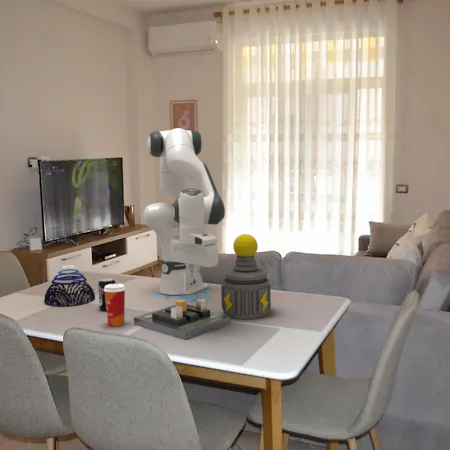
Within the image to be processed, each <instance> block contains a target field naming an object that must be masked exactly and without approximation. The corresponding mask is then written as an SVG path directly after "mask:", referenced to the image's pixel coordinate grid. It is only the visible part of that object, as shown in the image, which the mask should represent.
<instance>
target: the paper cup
mask: <svg viewBox="0 0 450 450" xmlns="http://www.w3.org/2000/svg"><path fill="white" fill-rule="evenodd" d="M104 291H105V301H106V310H107V311H106V319H107V325H108V326H109V327H113V328H114V327H120V326H123V325H124V324H125V298H126V287H125V285H124V284H123V283H116V284H109V285H106V286H105V288H104Z"/></svg>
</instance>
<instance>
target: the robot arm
mask: <svg viewBox="0 0 450 450" xmlns="http://www.w3.org/2000/svg"><path fill="white" fill-rule="evenodd" d="M146 145H147V150H148V152H149V155H151V156H152V157H155V158H160V160H159V188H160V190H161V191H162V192H163V193H164V194H166V195H168V196H170V197H173V198H174V201H173V202H171V201H169V202H156V203H152V204H148V205H146V206H145V208H144V210H143V213H142V219H143V223H145V225H146V227H148V228H149V229H151V230H152V231H153V232H154V233H155V234H156V236H157V237H158V240H159V242H160V249H161V251H160V252H161V260H160V268H161V269H160V270H161V275H160V277H161V278H160V284H159V285H160V286H159V289H158V292H159V293H160V294H163V295H168V296H169V295H172V296H173V295H175V296H176V295H177V296H178V295H192V294H195V293H197V292H200V291H203V290H204V289H206V288H209V287H208V284H206V283H205V282H204V283H203V277H202V275H201V273H200V271H201V270H200V269H201V268H202V267H206V268H214V267H217V265H218V264H219V250H218V246H217V242H218V238H217V236H215V235H214V234H211V233H209V232H208V231H207V230H206V225H218V224H219V223H220V222H222V221H223V219H224V218H225V215H226V208H225V204H224V201H223V199H222V198H221V196H220V195H219V192H218V189H217V187H216V185H215V182H214V180H213V177H212V174H211V172H210V170H209V168H208V166H207V164H206V163H205V162H203V161H201V160H200V159H199V158H198V157H197V156H198V155H199V154H200V153H201V152H202V150H203V149H202V148H203V137H202V135H201V133H200V132H199V131H198V130H195V129H190V130H188V129H184V128H181V127H180V128H179V127H177V128H172V129H167V130H154V131H152V132H151V133H150V134H149V135H148V139H147V143H146ZM187 179H188V180H191V181H194V182H195V183H196V182H197V183H198V184H199V185H200V186H201V188H202V190H201V189H199V188H197V189H196V188H188V185H187ZM174 228H175V229H176V228H177V229H178V228H179V229H178V230H179V235H178V234H176V233H174V232H173V229H174Z"/></svg>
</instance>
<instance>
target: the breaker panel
mask: <svg viewBox="0 0 450 450" xmlns="http://www.w3.org/2000/svg"><path fill="white" fill-rule="evenodd" d="M207 303H208V302H207V299H204V298H199V299H197V300H195V305H191V304H188V303H187V311H183V312H182V307H179V306H176V304H174V305H171V306H168V307H164V308H162V309H158V310H154V311H152V312H151V311H150V312H148V313H144V314H141V315H137V316H133V325H135V326H139V327H142V328H144V329H148V330H153V331H156V332H159V333H161V334H164V335H169V336H172V337H175V338H179V339H183V340H188V339H192V338H194V337H196V336H199V335H202V334H204V333H207V332H210V331H213V330H217V329H218V328H221V327H224V326H226V325H230V321H231V319H230V318H231V317H229V316H226V315H225V314H221V313H217V312H212V311H211V309H208V304H207Z"/></svg>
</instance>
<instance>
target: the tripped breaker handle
mask: <svg viewBox="0 0 450 450" xmlns="http://www.w3.org/2000/svg"><path fill="white" fill-rule="evenodd" d="M187 304H188V302H187V300H184V299H178V300H175V305H176V306H179V307H182V312H183V311H187Z"/></svg>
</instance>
